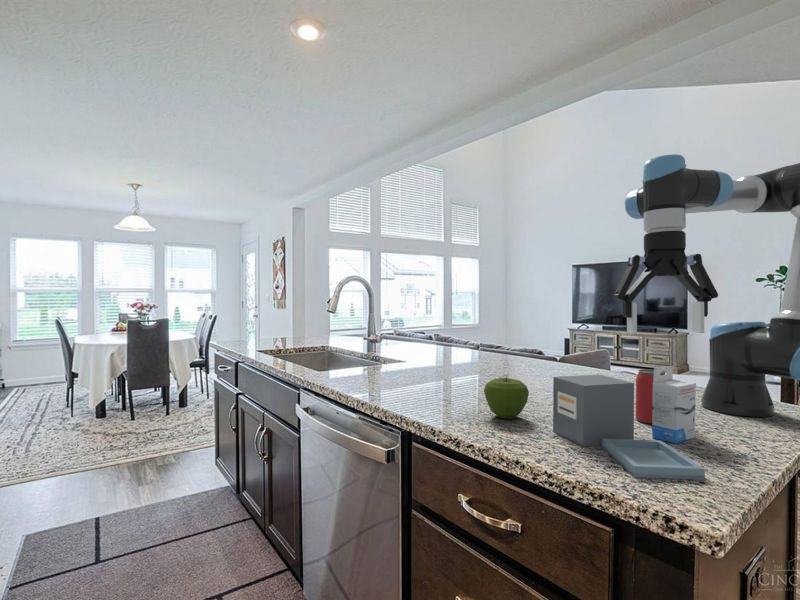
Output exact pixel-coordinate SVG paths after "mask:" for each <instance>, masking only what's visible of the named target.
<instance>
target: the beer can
mask: <svg viewBox="0 0 800 600" xmlns="http://www.w3.org/2000/svg"><path fill="white" fill-rule="evenodd" d="M660 375H666V372H664V371H663V372H661V373H660ZM653 377H654V369H647V368H645V369H638V373H637V375H636V377H635V419H636V420H637V421H639V422H641V423H643V424H647V425H652V412H653Z"/></svg>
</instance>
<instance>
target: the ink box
mask: <svg viewBox="0 0 800 600" xmlns="http://www.w3.org/2000/svg"><path fill="white" fill-rule="evenodd" d="M653 370H654V377H653V412H652V424H651V425H652V426H651V427H652V428H651V429H652V430H651V432H652V433H651V437H652V439H655V440H661V441H663V442H667V443H671V444H675V445H677V444H680V443H682V442H686V441H688V440H691V439H693V438H695V437H696V435H695V434H696V432H695V431H696V398H697V397H696V395H697V392H696V391H697V383H696V382H693V381H688V380H681V379H674V378H673V376H674V375H673V374H674V366H673V365H667V366H660V367H654V368H653ZM661 372H665V375H660V373H661Z"/></svg>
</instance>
